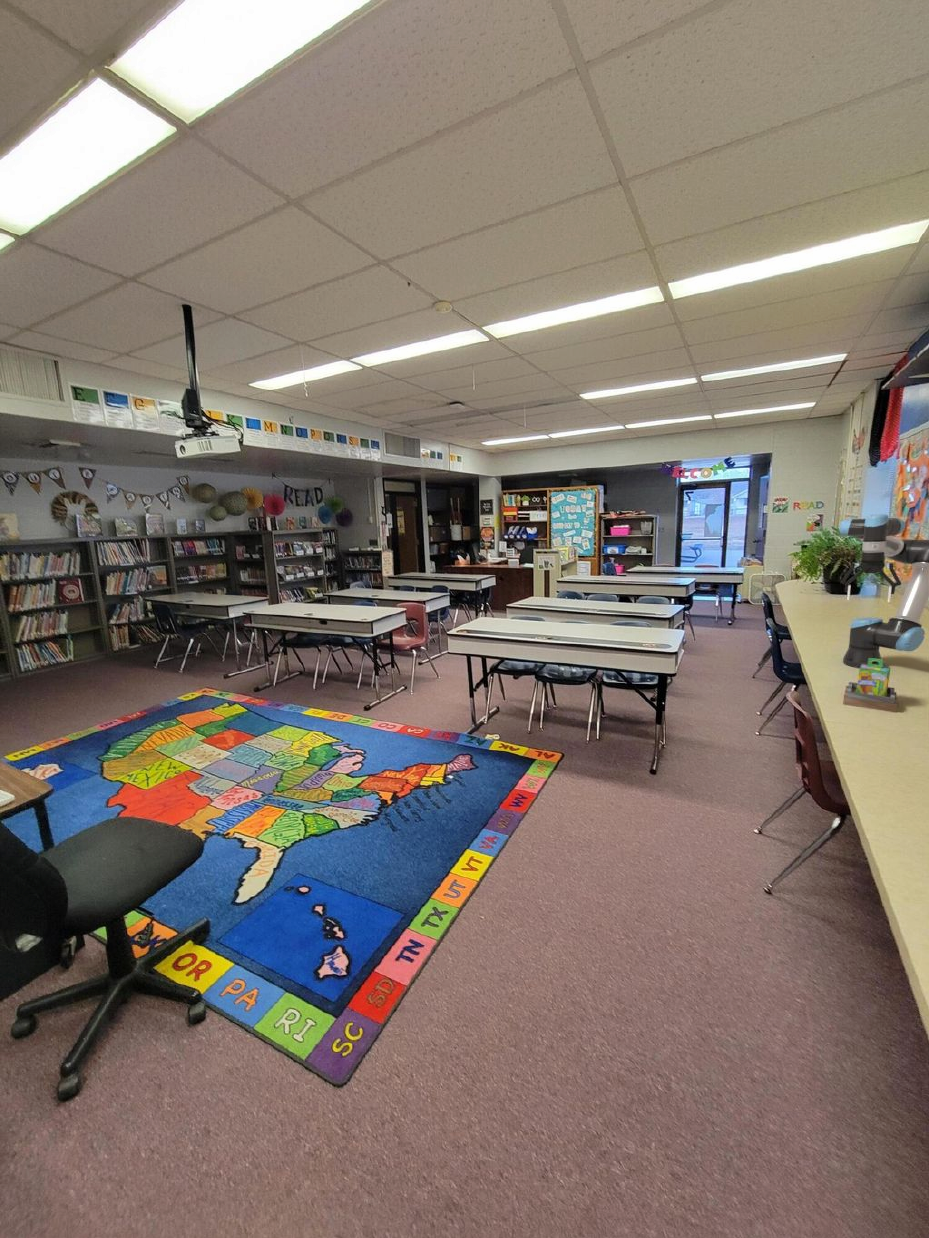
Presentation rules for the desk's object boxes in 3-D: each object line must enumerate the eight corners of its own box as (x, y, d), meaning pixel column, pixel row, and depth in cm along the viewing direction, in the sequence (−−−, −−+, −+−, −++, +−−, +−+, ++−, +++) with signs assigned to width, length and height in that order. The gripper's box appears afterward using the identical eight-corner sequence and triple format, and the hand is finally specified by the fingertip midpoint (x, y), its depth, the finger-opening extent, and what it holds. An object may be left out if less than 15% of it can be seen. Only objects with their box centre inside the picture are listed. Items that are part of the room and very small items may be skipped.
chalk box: (855, 695, 196) (859, 660, 193) (858, 689, 202) (861, 654, 200) (886, 700, 190) (890, 664, 187) (887, 693, 196) (891, 658, 193)
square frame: (845, 692, 208) (846, 681, 207) (895, 699, 198) (896, 687, 197) (843, 704, 196) (844, 692, 195) (896, 712, 186) (897, 699, 185)
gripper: (835, 552, 213) (831, 600, 218) (913, 552, 197) (906, 603, 202) (837, 551, 219) (832, 597, 223) (912, 550, 203) (906, 601, 207)
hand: (868, 600), depth 212 cm, fingers open, 13 cm apart
